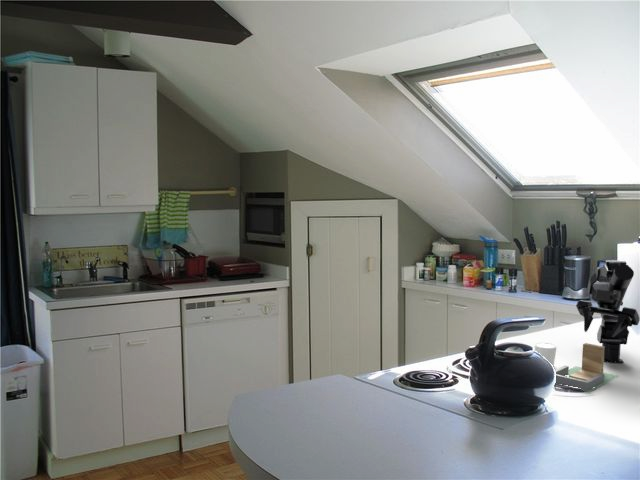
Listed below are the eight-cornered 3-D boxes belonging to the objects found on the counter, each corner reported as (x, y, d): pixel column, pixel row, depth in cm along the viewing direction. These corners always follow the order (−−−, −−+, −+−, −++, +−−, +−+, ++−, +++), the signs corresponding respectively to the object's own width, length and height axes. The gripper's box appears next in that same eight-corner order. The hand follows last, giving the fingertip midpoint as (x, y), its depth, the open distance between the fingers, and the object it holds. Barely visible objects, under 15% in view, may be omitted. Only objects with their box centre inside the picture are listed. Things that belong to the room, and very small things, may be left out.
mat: (575, 367, 226) (575, 366, 226) (619, 376, 216) (619, 375, 216) (544, 382, 210) (544, 381, 210) (589, 393, 200) (589, 392, 200)
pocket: (564, 373, 218) (564, 365, 218) (603, 382, 209) (604, 374, 209) (547, 381, 210) (547, 373, 209) (587, 391, 201) (587, 382, 201)
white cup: (552, 363, 230) (553, 342, 229) (557, 369, 223) (558, 348, 222) (531, 362, 230) (532, 342, 230) (536, 368, 224) (537, 347, 223)
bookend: (584, 370, 221) (585, 343, 220) (603, 374, 217) (604, 346, 216) (569, 378, 213) (570, 349, 212) (588, 382, 209) (589, 353, 208)
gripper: (580, 275, 227) (563, 314, 221) (638, 283, 214) (622, 325, 208) (589, 295, 234) (572, 333, 228) (646, 304, 221) (630, 345, 215)
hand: (598, 333), depth 219 cm, fingers open, 8 cm apart
